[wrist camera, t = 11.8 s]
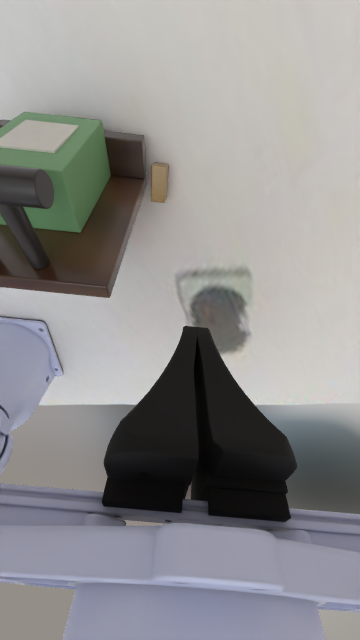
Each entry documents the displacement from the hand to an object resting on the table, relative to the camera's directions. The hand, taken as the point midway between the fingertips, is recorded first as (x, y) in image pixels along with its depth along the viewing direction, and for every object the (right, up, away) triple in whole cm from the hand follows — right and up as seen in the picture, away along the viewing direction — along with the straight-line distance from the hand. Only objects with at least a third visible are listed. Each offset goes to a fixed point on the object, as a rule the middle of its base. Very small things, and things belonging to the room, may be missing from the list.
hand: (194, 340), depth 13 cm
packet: (-8, +8, +1) cm, 12 cm away
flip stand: (-8, +7, +1) cm, 11 cm away
